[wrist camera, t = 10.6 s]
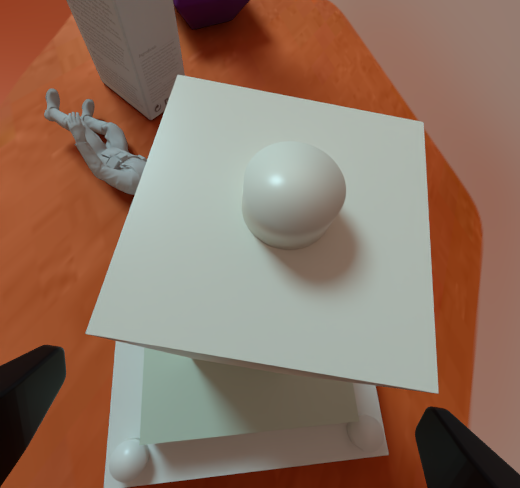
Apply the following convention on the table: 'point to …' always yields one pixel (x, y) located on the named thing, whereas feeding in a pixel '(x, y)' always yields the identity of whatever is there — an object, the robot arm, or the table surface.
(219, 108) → the tall brick
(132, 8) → the skincare box
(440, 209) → the table surface
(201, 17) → the perfume bottle
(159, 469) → the studded pedestal base
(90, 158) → the soldier figure
